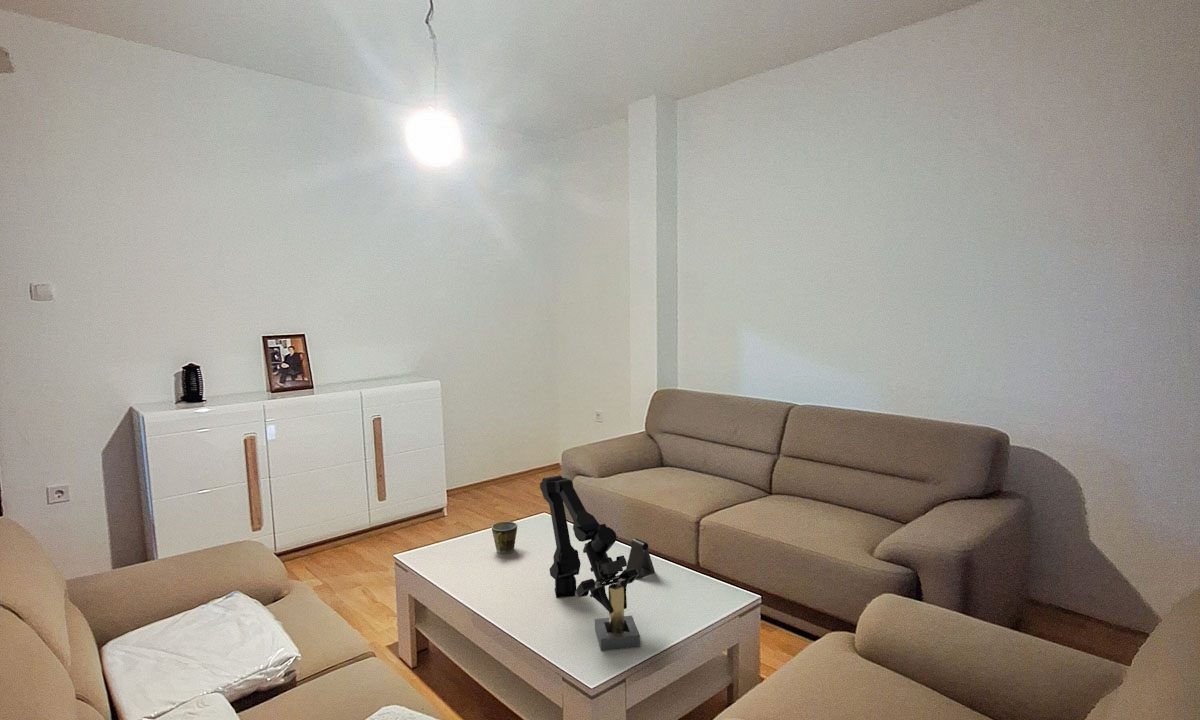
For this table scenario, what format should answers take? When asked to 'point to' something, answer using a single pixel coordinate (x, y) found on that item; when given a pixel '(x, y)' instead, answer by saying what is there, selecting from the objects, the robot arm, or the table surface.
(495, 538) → the ceramic cup
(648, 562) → the phone stand
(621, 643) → the jig block
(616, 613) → the brass sleeve
